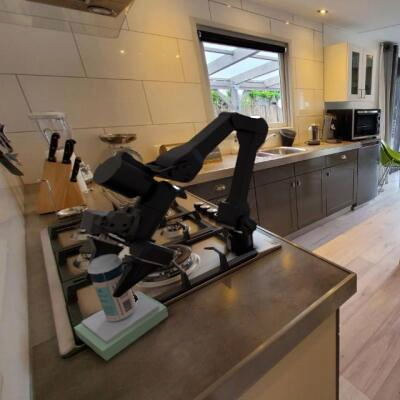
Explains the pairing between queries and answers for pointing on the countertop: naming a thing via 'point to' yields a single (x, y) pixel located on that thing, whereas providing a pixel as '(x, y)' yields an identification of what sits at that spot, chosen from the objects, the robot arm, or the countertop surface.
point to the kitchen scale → (120, 327)
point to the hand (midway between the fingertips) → (101, 288)
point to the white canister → (111, 286)
